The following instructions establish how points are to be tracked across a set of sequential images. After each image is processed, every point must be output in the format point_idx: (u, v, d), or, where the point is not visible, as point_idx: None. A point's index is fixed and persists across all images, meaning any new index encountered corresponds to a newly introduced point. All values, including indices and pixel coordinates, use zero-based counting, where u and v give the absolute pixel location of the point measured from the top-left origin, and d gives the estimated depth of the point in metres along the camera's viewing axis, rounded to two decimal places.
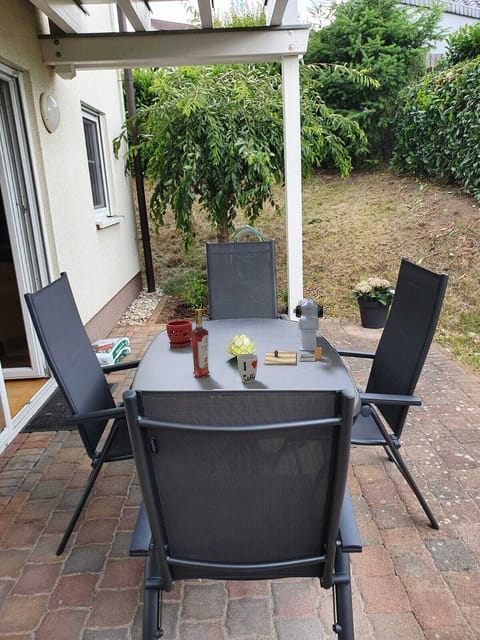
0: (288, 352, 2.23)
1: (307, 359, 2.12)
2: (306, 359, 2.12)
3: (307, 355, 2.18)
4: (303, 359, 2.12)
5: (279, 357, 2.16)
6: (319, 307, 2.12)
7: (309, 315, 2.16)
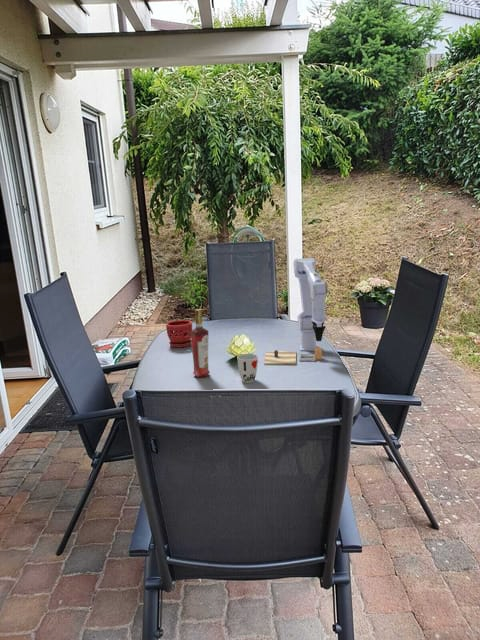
0: (288, 352, 2.23)
1: (307, 359, 2.12)
2: (306, 359, 2.12)
3: (307, 355, 2.18)
4: (303, 359, 2.12)
5: (279, 357, 2.16)
6: (322, 325, 2.16)
7: None
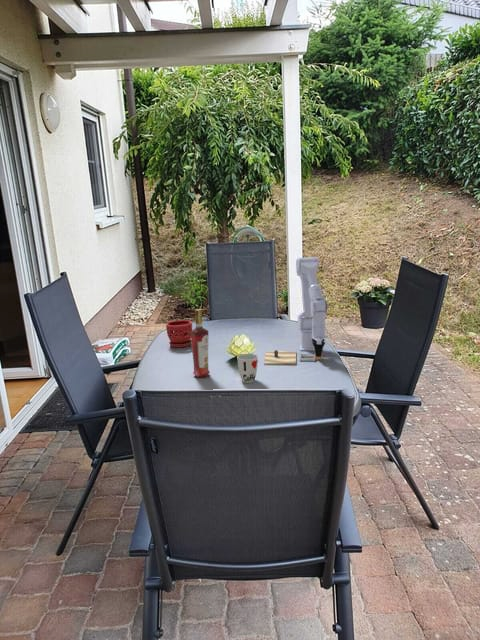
0: (288, 352, 2.23)
1: (307, 359, 2.12)
2: (306, 359, 2.12)
3: (307, 355, 2.18)
4: (303, 359, 2.12)
5: (279, 357, 2.16)
6: None
7: None
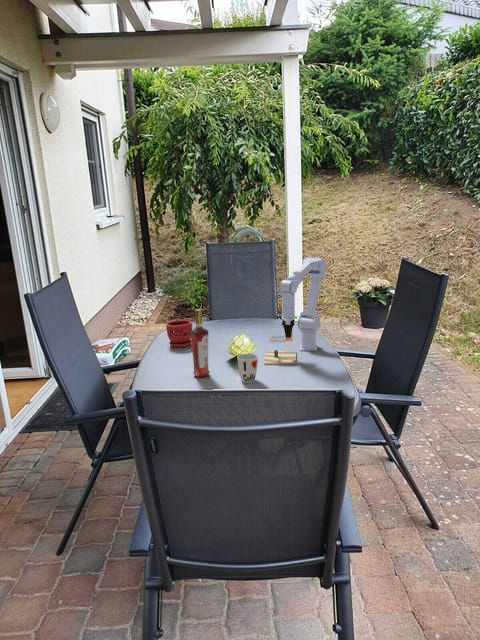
0: (288, 352, 2.23)
1: (277, 340, 2.12)
2: (276, 340, 2.12)
3: (278, 337, 2.18)
4: (273, 340, 2.12)
5: (279, 357, 2.16)
6: None
7: None
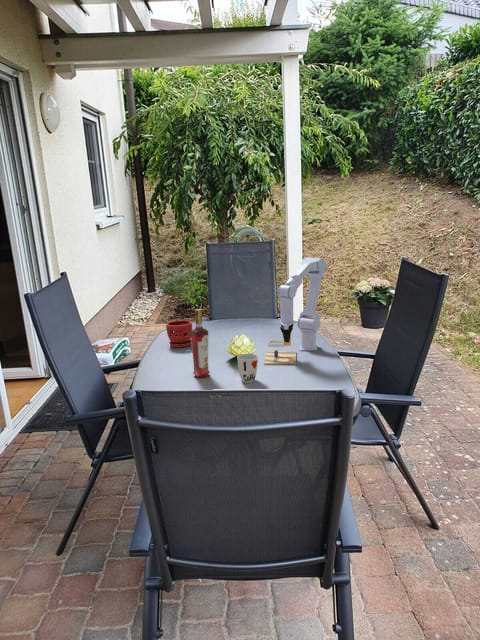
0: (288, 352, 2.23)
1: (276, 345, 2.13)
2: (275, 345, 2.13)
3: (277, 341, 2.19)
4: (272, 345, 2.13)
5: (279, 357, 2.16)
6: (291, 328, 2.16)
7: None
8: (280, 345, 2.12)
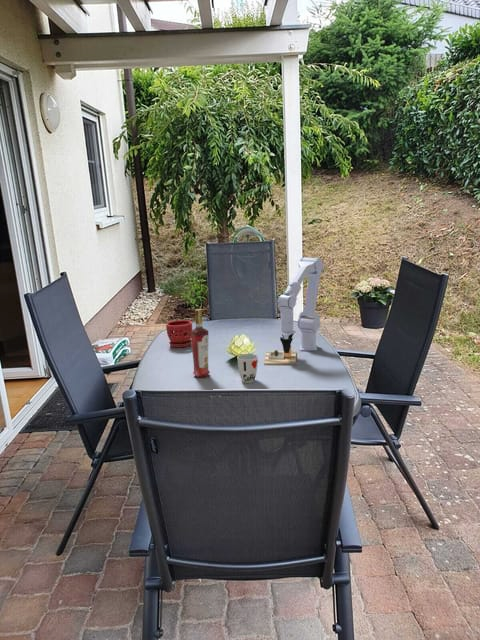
0: None
1: (276, 357, 2.14)
2: (275, 357, 2.14)
3: None
4: (272, 357, 2.14)
5: None
6: None
7: None
8: (280, 357, 2.14)
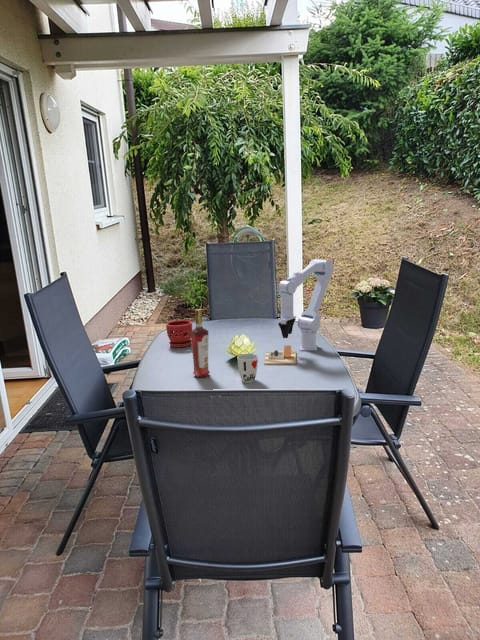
0: None
1: (276, 357, 2.14)
2: (275, 357, 2.14)
3: None
4: (272, 357, 2.14)
5: None
6: (293, 322, 2.22)
7: None
8: (280, 357, 2.14)
